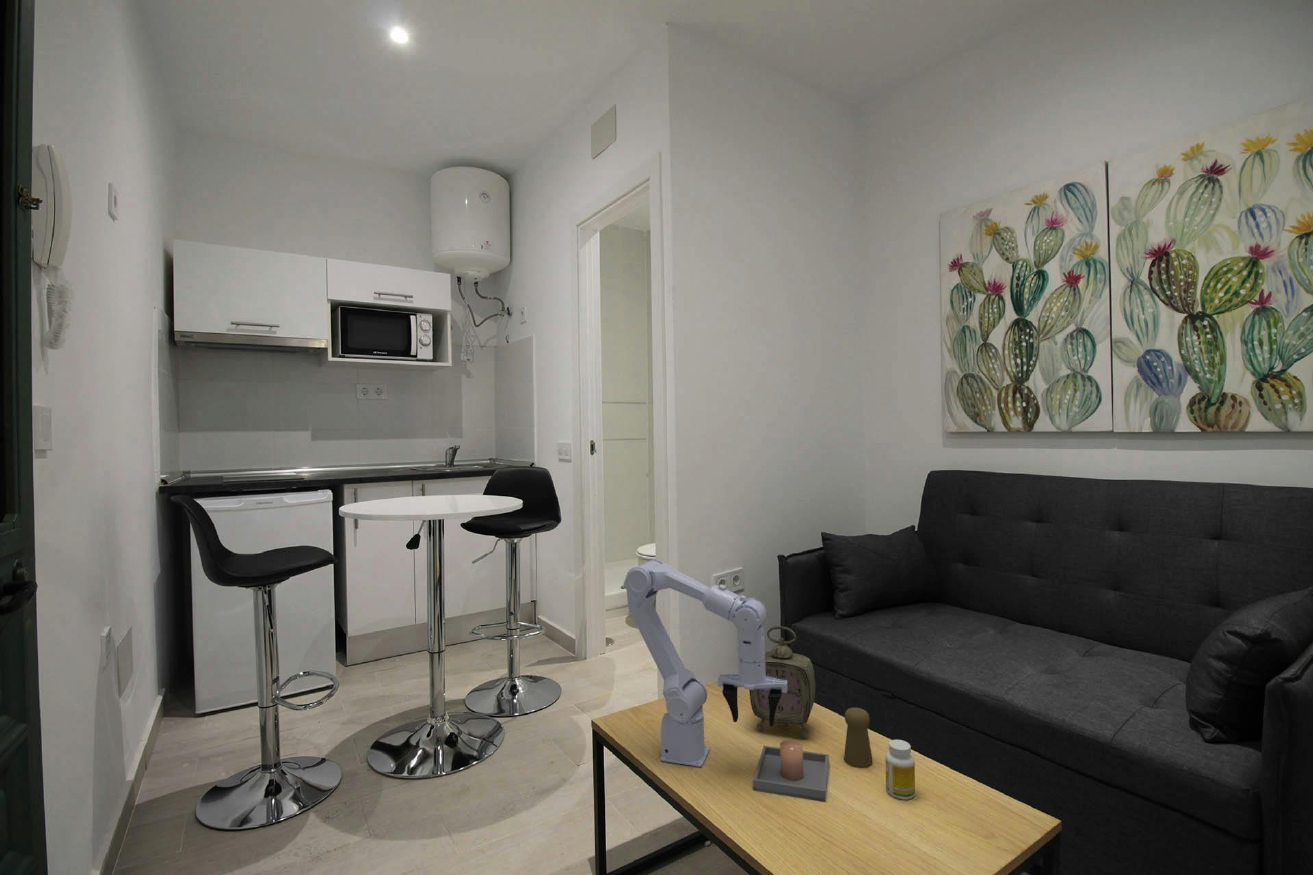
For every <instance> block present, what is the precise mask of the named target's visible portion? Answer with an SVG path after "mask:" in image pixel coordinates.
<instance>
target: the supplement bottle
mask: <svg viewBox="0 0 1313 875" xmlns="http://www.w3.org/2000/svg"><path fill="white" fill-rule="evenodd" d="M911 749H912V746H911V744H910V743H909V742H907V741H905V740H902V739H892V740H890V741H889V742H888V751H887V752H886V753H885V757H884V758H885V789H886V792H887V793H888V795H890V796H891V797H893V798H895V799H899V800H903V801H905V800H906V801H907V800H911V799H912V798H914V797H915V795H916V775H915V773H916V770H915V769H916V768H915V766H916V762H915V758H914V757H913V755H912V754H911V753H912V750H911Z"/></svg>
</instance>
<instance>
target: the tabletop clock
mask: <svg viewBox="0 0 1313 875" xmlns="http://www.w3.org/2000/svg"><path fill="white" fill-rule="evenodd" d="M773 630H774V631H775V630H784V631H788V632H790V633H791V634H792V635H793V639H791V640H785V639H784V638H783V637H779V638H778V639H774V638H772V637H771V636H770V632H771V631H773ZM766 636H767V638H768V640H770V641H771V642H772V643H775V644H776V645H775V646H774V647H773V648H772V649H771V650H765V672H766V676H768V677H772V678H776V679H780V680H787V686H788V690H787V693H782V695H781V698H780V700H779V703H778V705H777V708H776V711H775V717H774V723H778V724H780V725H781V724H782V725H783V726H785V727H786V726H788V725H794V726H795V725H797V726H798V725H799V727H800V729H801V733H800V734H801V737H802V738H803V739H807V738H808V737H809V732H808V731H807V730H805V727H804V724H807V723H808V720H809V717H810V715H811V713H812V710H813V707H814V703H815V696H816V678H815V671H814V666H813V663H812V661H811V658H809V657H807V656H805V655H804V654H800V653H799V654H798V653H794V652H793V651H792V649H791V647H790V646H788V645H791V644H793V643H795V641H796V639H797V635H796V632H794V631H793V629H792V628H789V627H787V626H781V625H774V626H773V627H770V628H769V629H768V630H767V633H766ZM748 692H749V702H750V706H751V711H752V713H753V715H754V716H755V717H758V718H759V719H761V720H760V722H759V723H757V724H756V727H755V728H756V730H758V731H762V730H763V729H764V725H763V724H764V723H765V721H769V714H770V711H769V700H768V695H769V692H770V690H763V689H754V690H749V691H748Z"/></svg>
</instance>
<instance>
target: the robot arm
mask: <svg viewBox="0 0 1313 875" xmlns="http://www.w3.org/2000/svg"><path fill="white" fill-rule="evenodd" d="M625 576H626V577H625V579H624V581H623V586H624V588H625V591H626V597H627V609H628V611H629V613H630V615H631V617H632V619H633V621H634V623H635V625H636V627H637V630H638V631H639V632H640V635H641V637H642V639H643V641H644V643H645V645H646V647H647V648H648V651H649V653H650V655H651V657H652V659H653V662H654V663H655V666H656V667H657V669H658V671H659V673H660V675H661V677H662V679H663V686H662V687H663V689H662V695H663V697H664V699H665V704H666V705H665V706H666V710H667V711H666V712H665V713H664V714H663V716H662V718H661V723H660V758H659V759H660V761H661V762H666V763H673V764H679V765H680V764H681V765H686V766H693V767H703V765H704V763H705V761H706V758H707V756H708V754H709V752H710V750H711V749H710V748H711V747H710V746H706V745H705V718H704V716H705V714H704V711H703V708H704V707H703V705H704V704H705V703H706V702H707V700H708V691H707V688H706V686H705V685H704V683H703V682H701V680H699V679H698V678H697V676H696V675H695V673H694V672H693V671H692V670H690V669H688V668H687V667H685V664H684V663H683V661H682V659H681V657H680V655H679V653H678V652H677V649H676V648H675V645H674V643H673V641H672V640H671V637H670V635H669V634H668V632H667V630H666V628H665V626H664V623H663V622H662V620H661V617H660V616H659V614H658V611H657V610H656V608H655V606H654V603H655V601H656V598H657V594H658V593H659V591H661V590H666V589H672V590H673V591H675V592H678V593H680V594H683V595H686V596H688V597H690V598H693V599H694V600H698V601H700V602H701V603H702V604H703V608H704V609H705V610H706V611H709V612H711V613H712V614H714V615H717V616H719V617H721V618H723V619H724V620H726V621H729V622H732V624H733V626H734V627H735V629H736V630H737V632H736V633H737V638H736V639H737V642H736V643H737V666H738V672H737V673H732V674H731V673H730V674H728V673H727V674H722V673H720V674H719V675H718V677H717V686H718V687H721V688H722V696H723V697H724V698H725V701H726V703H727V705H728V707H729V710H730V713H731V716H732V722H733V723H737V722H738V721H739V720H738V719H739V707H738V706H739V705H738V688H744V690H754V689H763V690H770V692H769V695H768V700H769V711H770V714H769V722H768V724H769V725H768V726H769V727H774V724H775V722H774V717H775V711H776V708H777V705H778V703H779V700H780V698H781V695H782V693H787V690H788V686H787V680H780V679H776V678H772V677H768V676H766V672H765V651H766V648H765V645H766V642H765V641H766V640H765V629H764V628H765V626H764V624H763V623H765V621H766V618H767V614H768V613H767V612H768V611H767V607H766V606H765V605H764V603H763V602H762V601H761V600H759V599H758V598H757V597H748V598H747V596H746V595H743V594H741V595H739V594H737V593H736V592H732V591H731V590H728V589H727V586H726V585H724V584H720V585H717V584H714V585H712V586H707V585H705V584H704V583H701V582H699V581H698V580H696V579H694V578H692V577H690V576H688V575H686V574H684V572H681V571H679V570H677V569H675V568H674V567H673V566H671V564H669V563H666V562H662V561H661V560H659V559H657V558H655V559H654V558H653V559H649V560H647V561H646V562H644V563H642V564H640V565H638V566H635V567H632V568H630V569H629V570H628V572H627V574H626V575H625Z"/></svg>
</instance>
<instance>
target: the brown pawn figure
mask: <svg viewBox="0 0 1313 875" xmlns="http://www.w3.org/2000/svg"><path fill="white" fill-rule="evenodd" d="M844 721H845V723H846V725H847V726H846V736H845V745H844V753H843V761H844V762H845V764H847V765H849V767H850V766H851V767H853V768H858V769H868V768H870V767H872V766H873V764H874V761H873V755H872V748H871V743H870V742H871V741H870V737H869V731H868V727H869V725H870V715H869V713H868V711H866V710H865V709H863V708H860V707H850V708H847V710H846V711H845V713H844Z"/></svg>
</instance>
